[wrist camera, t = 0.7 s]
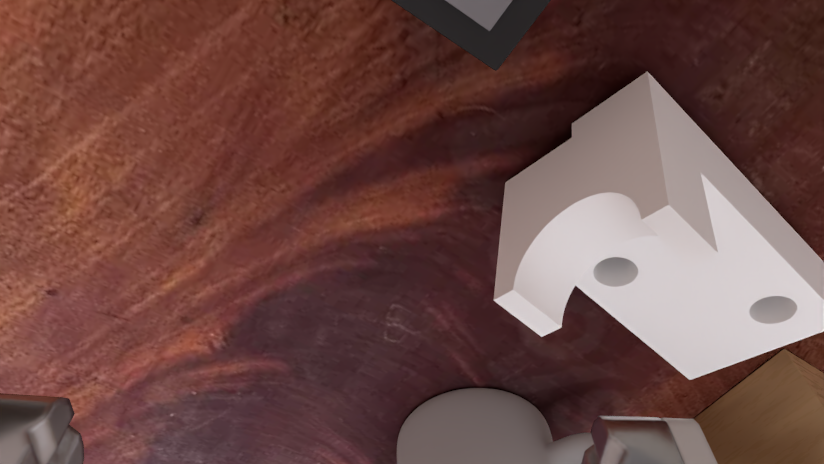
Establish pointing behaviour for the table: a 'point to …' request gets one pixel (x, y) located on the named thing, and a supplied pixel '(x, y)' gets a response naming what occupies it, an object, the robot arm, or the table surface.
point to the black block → (479, 23)
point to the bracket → (656, 239)
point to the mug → (484, 432)
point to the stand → (769, 416)
